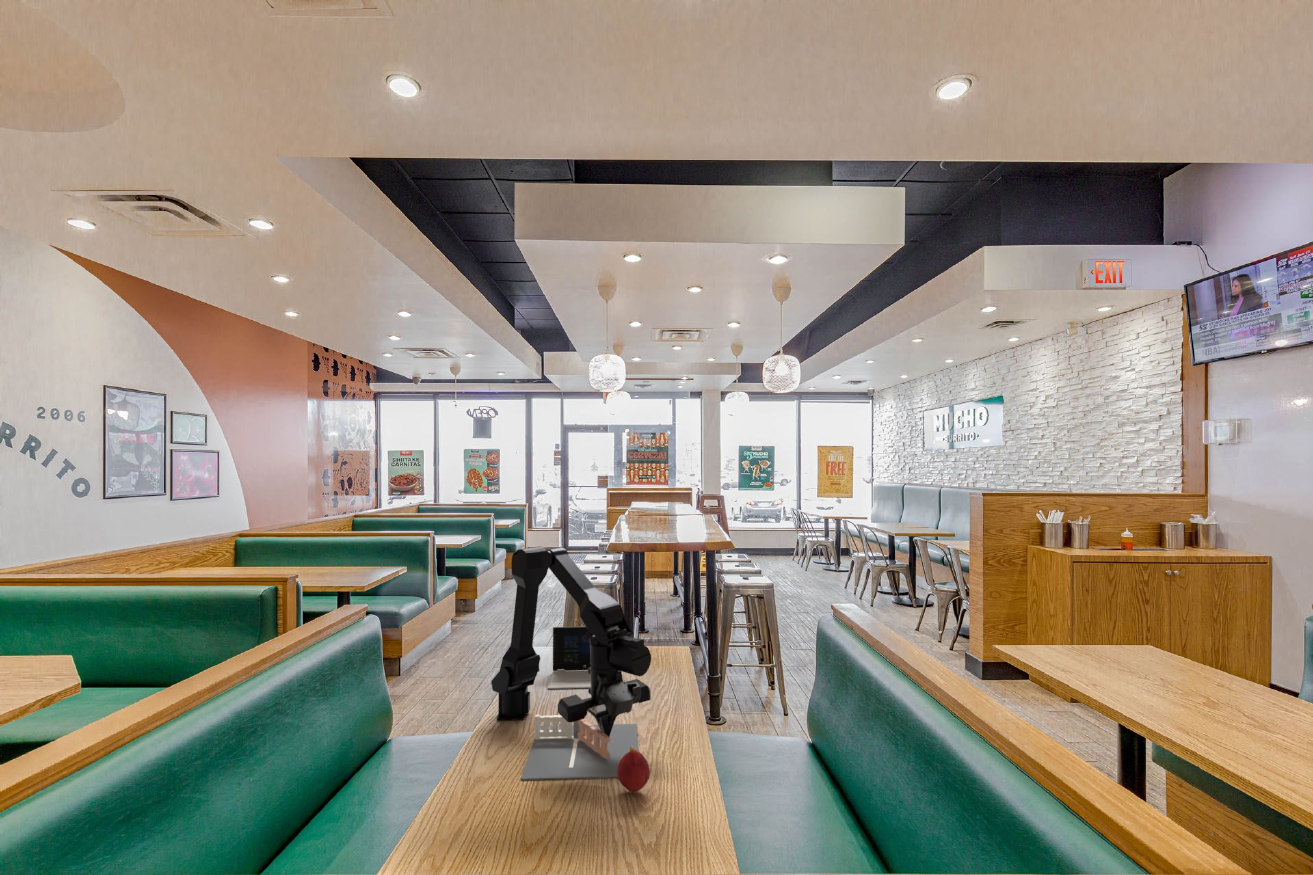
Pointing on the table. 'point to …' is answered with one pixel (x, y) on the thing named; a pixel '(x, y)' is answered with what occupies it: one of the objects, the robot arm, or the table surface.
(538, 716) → the fence fixed
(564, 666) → the laptop
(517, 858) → the table surface
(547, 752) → the mat
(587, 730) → the fence gate
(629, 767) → the onion
